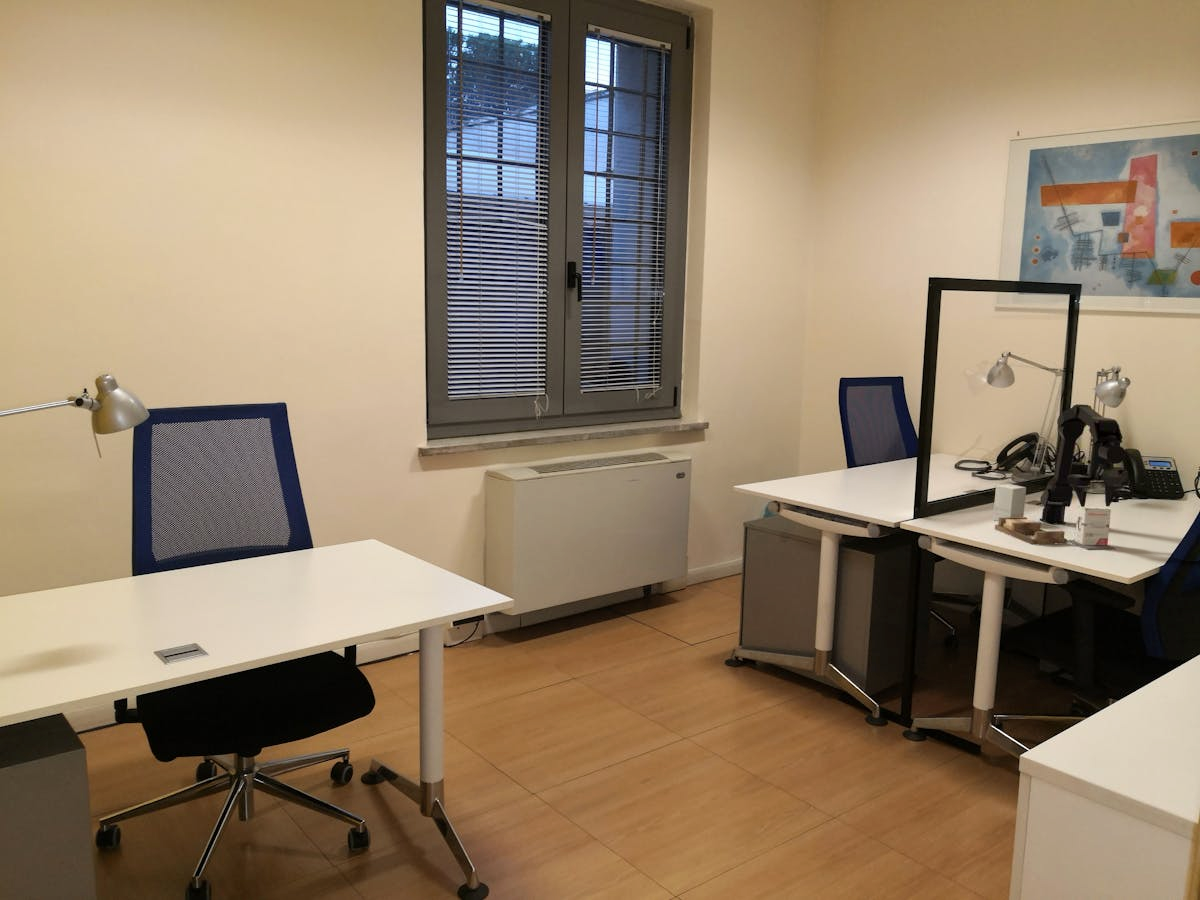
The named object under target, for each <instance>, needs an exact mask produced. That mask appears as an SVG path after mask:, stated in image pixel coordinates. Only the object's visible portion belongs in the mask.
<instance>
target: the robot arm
mask: <svg viewBox="0 0 1200 900" xmlns="http://www.w3.org/2000/svg"><path fill="white" fill-rule="evenodd" d="M1056 420H1057V424H1056V425H1057V431H1058V433H1059V435H1060V442H1059V447H1058V453H1057V459H1056V462H1055V463H1056V464H1055V469H1054V470H1055V471H1054V476H1053V477H1052V478H1051V479H1050V480H1049V481H1048V482H1047V484H1046V488H1045V489H1044V491H1043V493H1042V495H1041V496H1040V499H1039V502H1040V505H1043V509H1042V515H1041V518H1039V521H1040V522H1041V521H1042V522H1044V523H1047V524H1050V525H1066V524H1067V521H1065V513H1066V512H1065V511H1066V507H1068V508H1070V507H1071V504H1072V501H1073V497H1074V493H1073V491H1074V492H1075V494H1076V496H1077V499H1078V501H1079V504H1080V505H1079V506H1081V507H1084V506H1085V505H1086V501H1087V500H1086V499H1087V493H1088V491H1089V490H1090V489H1091V487H1090V486H1089V485H1091V484H1104V495H1105V496H1104V501H1105V502H1104V503H1105V506H1106V507H1107V508H1109V507H1110V506H1111V504H1112V502H1113V500H1114V498H1115V496H1116V495H1117V493H1118V492H1119V491H1120V490H1122V489H1125V488H1126V487H1127V486H1128V487H1129V486H1130V478H1129V477H1128V476H1129V474H1128V473H1129V472H1128V471H1127V470H1126V469H1115V468H1114V467H1115V465H1117V464H1121V463H1122V462H1123V461H1125V459H1126V455H1127V454H1126V450H1125V448H1124V447H1122V446H1121V444H1122V443H1123V434H1122V431H1121V429H1120V424H1119V423H1118V421H1117V420H1116V419H1113V418H1110V417H1104V416H1102V415H1101V414H1100V413H1098V412H1097V411H1096V410H1095V409H1093V408H1092V406H1091V405H1089V404H1074V405H1072V407H1071V408H1069V409H1066V410H1064V411H1062V413H1060V414H1059V416H1058V417H1057V419H1056ZM1086 427H1088V428H1089V429H1088V431H1089V433H1090V434H1091V437H1092V439H1090V442H1091V443H1092V446H1091V454H1090V459H1087V462H1086V463H1087V464H1089V471H1088V472H1085V475H1082V474H1078V473H1077V474H1071V471H1072V465H1073V459H1074V455H1075V449H1076V444H1077V441H1078V439H1080V437H1081V436H1083V434H1084V430H1085V428H1086Z"/></svg>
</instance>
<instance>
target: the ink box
mask: <svg viewBox="0 0 1200 900" xmlns="http://www.w3.org/2000/svg"><path fill="white" fill-rule="evenodd" d="M1077 508H1078V509H1077V515H1076V528H1075V538H1074V540H1075V541H1076V542H1078V543H1080V544H1082V545H1109V532H1110V525H1111V523H1110V522H1111V515H1112V514H1111V513H1112V509H1110V508H1109V507H1107V506H1106V507H1104V506H1088V505H1087V506H1084V507H1081V505H1079V506H1077Z"/></svg>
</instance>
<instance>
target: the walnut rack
mask: <svg viewBox="0 0 1200 900" xmlns="http://www.w3.org/2000/svg"><path fill="white" fill-rule="evenodd" d="M997 522H998V523H997V524H994V530H995V531H999V532H1000V533H1003V532H1004V533H1003V534H1006V535H1007V536H1010V535H1011V537H1014V538H1015V539H1018V540H1020V541H1023V542H1026V543H1028V544H1030V545H1032V544H1039V545H1056V544H1055V543H1058V544H1057V545H1060V544H1059V543H1068V542H1067V540H1068V539H1067V538H1066V537H1065V531H1063V530H1049V531H1048V530H1044V529H1042V528H1041V527H1042V523H1041V521H1032V520H1030V519H1028V517H1025V516H1023V517H1000V518H999V521H997ZM1030 536H1034V537H1030Z"/></svg>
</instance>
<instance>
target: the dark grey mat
mask: <svg viewBox="0 0 1200 900" xmlns="http://www.w3.org/2000/svg"><path fill="white" fill-rule="evenodd" d="M1069 542H1070V543H1069ZM1067 543H1069V544H1071V543H1072V545H1074V544H1075V545H1074V546H1076V545H1077V546H1076V547H1079V548H1082V549H1084V548H1085V549H1084V550H1087V551H1091V550H1115V548H1116V547H1114V546H1112V545H1110V544H1107V545H1082V544H1080V543H1078V542H1076V541H1075V539H1067Z"/></svg>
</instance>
